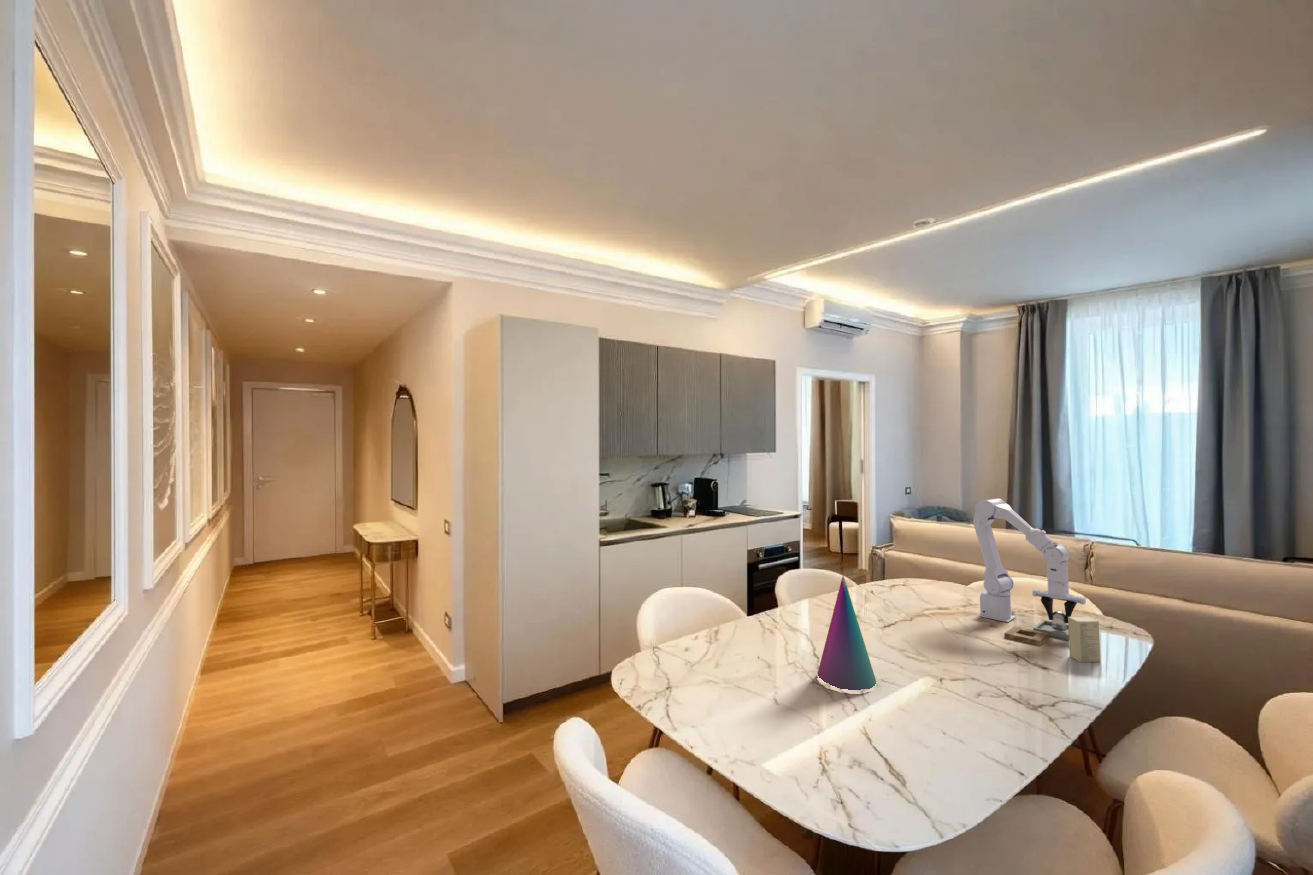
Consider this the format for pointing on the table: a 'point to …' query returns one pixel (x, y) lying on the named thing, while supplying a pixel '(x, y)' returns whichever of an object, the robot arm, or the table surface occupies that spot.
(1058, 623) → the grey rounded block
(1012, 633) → the socket block
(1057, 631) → the tray
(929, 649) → the table surface
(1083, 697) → the table surface
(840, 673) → the decorative cone
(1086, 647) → the skincare box
